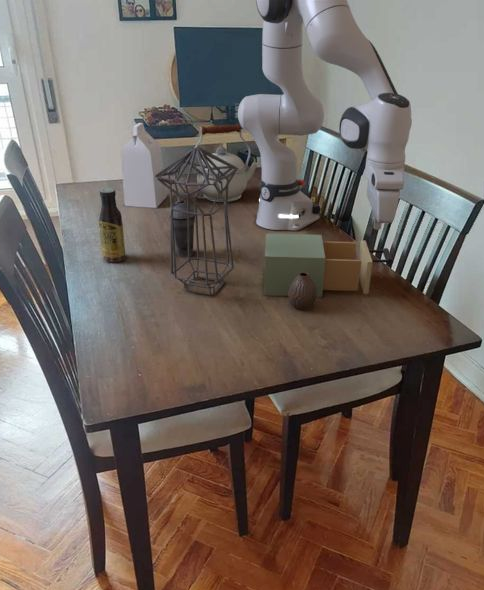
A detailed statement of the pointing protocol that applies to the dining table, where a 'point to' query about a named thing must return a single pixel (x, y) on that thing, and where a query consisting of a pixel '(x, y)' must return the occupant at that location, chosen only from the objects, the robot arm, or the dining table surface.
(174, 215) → the beverage cup
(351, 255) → the drawer
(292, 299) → the vase
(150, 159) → the milk
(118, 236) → the sauce bottle
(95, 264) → the dining table surface
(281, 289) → the cabinet
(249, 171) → the kettle
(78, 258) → the dining table surface
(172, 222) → the geometric lantern
